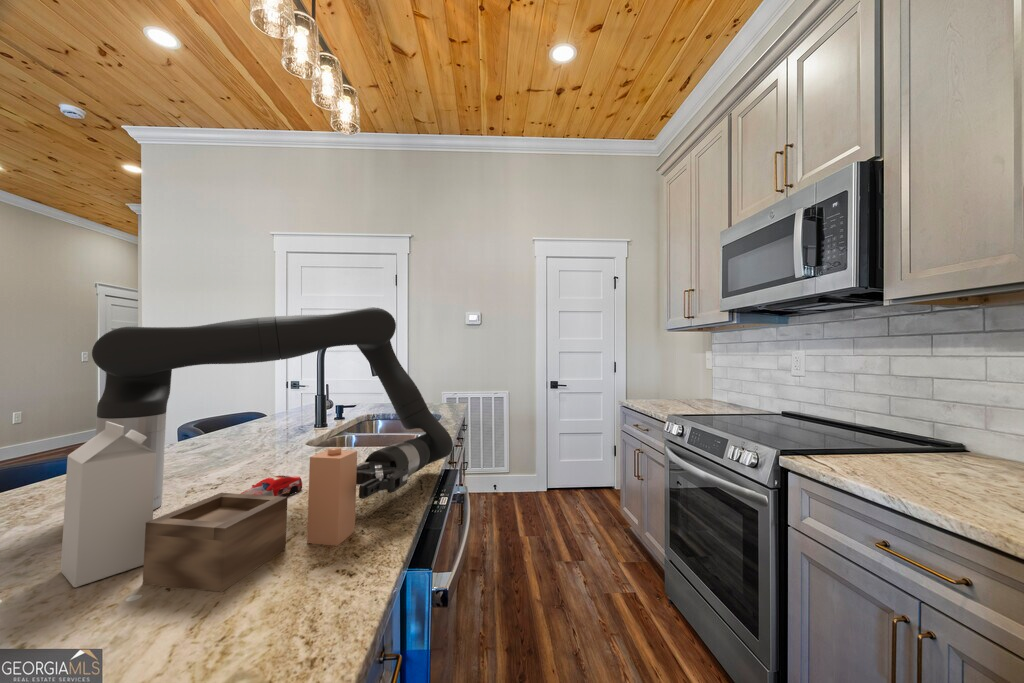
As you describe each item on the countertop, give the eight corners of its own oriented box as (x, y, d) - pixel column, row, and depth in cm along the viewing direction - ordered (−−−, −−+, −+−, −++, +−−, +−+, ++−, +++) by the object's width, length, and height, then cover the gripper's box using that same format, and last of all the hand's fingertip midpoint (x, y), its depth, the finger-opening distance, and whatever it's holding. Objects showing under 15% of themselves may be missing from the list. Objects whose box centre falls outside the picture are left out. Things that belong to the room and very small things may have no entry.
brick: (306, 543, 60) (310, 451, 61) (326, 529, 65) (329, 444, 66) (337, 545, 60) (340, 453, 60) (354, 531, 65) (357, 446, 65)
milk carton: (74, 589, 48) (83, 430, 48) (59, 572, 51) (68, 424, 52) (151, 564, 54) (158, 423, 55) (133, 549, 57) (140, 418, 58)
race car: (247, 514, 72) (247, 492, 72) (226, 510, 74) (227, 488, 74) (307, 491, 84) (307, 472, 84) (288, 487, 86) (288, 469, 86)
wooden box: (142, 583, 49) (145, 522, 49) (218, 542, 60) (221, 492, 60) (222, 591, 48) (225, 528, 48) (285, 548, 59) (287, 496, 59)
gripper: (363, 443, 82) (302, 462, 66) (425, 448, 78) (377, 470, 62) (361, 480, 81) (300, 508, 66) (424, 486, 78) (375, 518, 62)
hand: (338, 489), depth 64 cm, fingers open, 8 cm apart
